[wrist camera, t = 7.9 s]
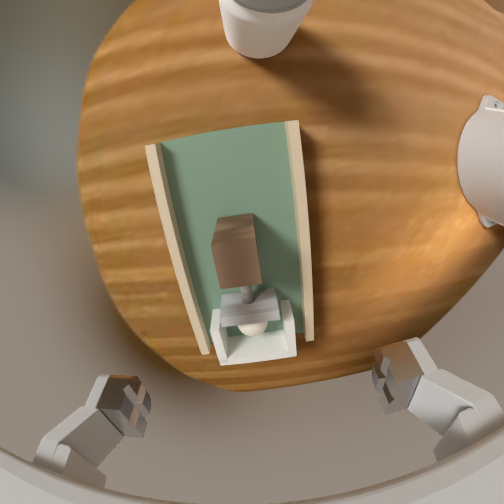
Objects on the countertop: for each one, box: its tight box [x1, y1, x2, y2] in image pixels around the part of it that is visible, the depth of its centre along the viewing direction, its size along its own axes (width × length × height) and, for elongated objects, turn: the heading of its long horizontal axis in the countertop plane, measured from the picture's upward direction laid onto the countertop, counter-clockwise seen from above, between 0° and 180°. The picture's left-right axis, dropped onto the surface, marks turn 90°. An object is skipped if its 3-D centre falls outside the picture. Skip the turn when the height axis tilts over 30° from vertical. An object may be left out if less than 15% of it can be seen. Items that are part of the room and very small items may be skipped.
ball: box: [238, 321, 268, 336], centre depth 32 cm, size 4×4×4 cm
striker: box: [211, 213, 280, 327], centre depth 28 cm, size 6×10×7 cm, turn 8°
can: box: [219, 0, 313, 59], centre depth 17 cm, size 6×6×12 cm
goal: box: [210, 299, 297, 365], centre depth 33 cm, size 9×6×4 cm, turn 98°
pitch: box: [145, 120, 314, 355], centre depth 30 cm, size 14×25×3 cm, turn 8°
